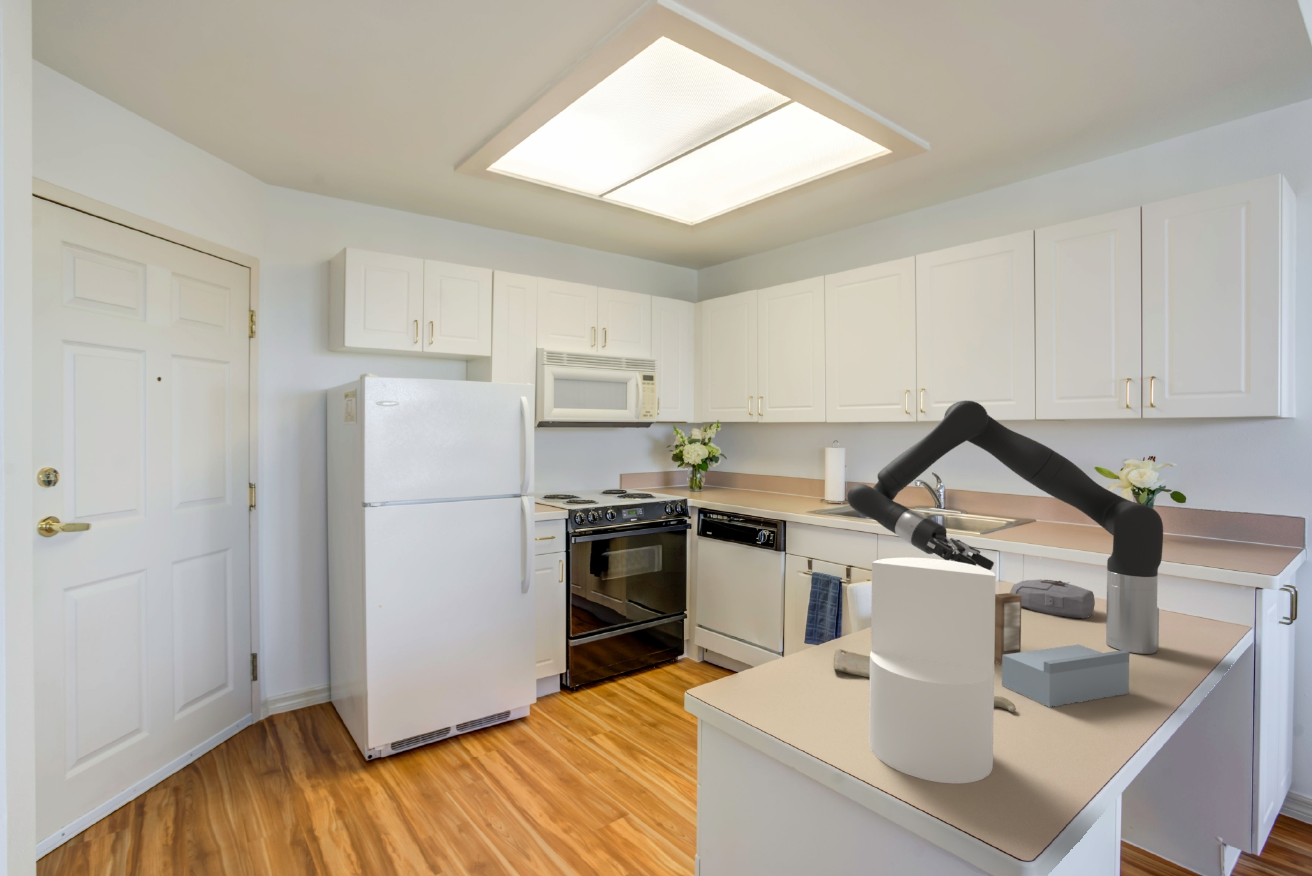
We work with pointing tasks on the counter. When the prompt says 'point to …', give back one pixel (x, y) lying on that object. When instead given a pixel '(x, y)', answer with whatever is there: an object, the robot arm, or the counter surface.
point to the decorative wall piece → (861, 667)
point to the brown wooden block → (1007, 625)
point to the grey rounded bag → (1055, 598)
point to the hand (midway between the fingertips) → (983, 566)
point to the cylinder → (932, 668)
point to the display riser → (1066, 674)
